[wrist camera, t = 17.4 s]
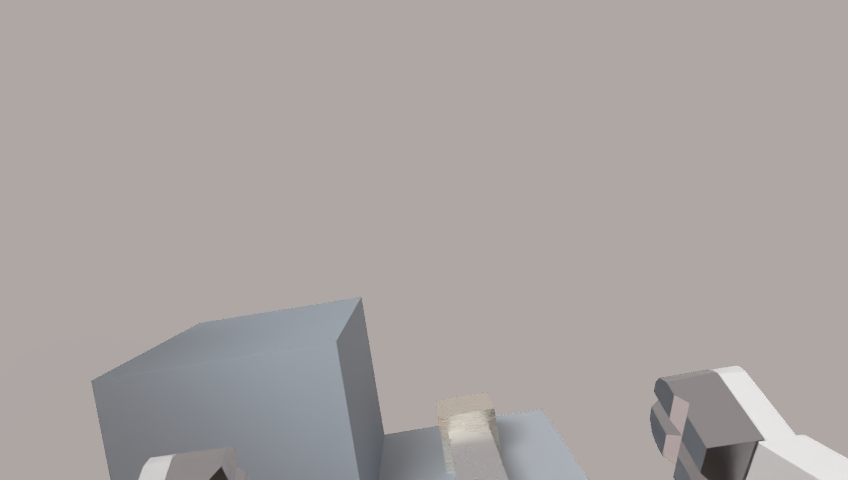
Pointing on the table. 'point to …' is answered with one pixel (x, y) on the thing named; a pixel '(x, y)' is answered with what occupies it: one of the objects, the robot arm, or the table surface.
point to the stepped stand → (289, 405)
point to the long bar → (470, 438)
